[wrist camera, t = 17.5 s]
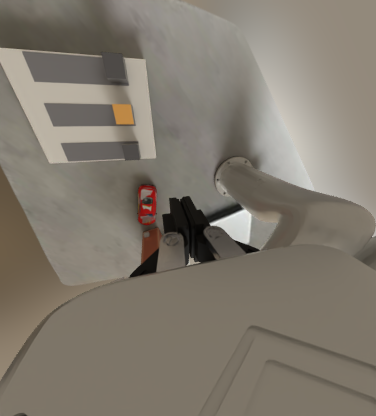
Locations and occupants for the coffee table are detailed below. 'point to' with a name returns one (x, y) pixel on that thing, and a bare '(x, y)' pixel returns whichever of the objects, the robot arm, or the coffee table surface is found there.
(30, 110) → the board
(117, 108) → the block
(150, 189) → the race car
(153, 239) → the control panel
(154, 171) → the coffee table surface
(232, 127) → the coffee table surface
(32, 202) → the coffee table surface
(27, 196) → the coffee table surface
